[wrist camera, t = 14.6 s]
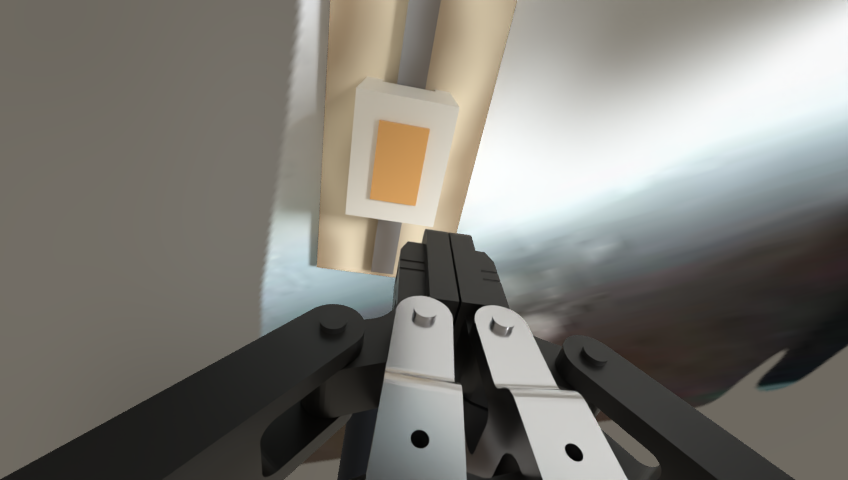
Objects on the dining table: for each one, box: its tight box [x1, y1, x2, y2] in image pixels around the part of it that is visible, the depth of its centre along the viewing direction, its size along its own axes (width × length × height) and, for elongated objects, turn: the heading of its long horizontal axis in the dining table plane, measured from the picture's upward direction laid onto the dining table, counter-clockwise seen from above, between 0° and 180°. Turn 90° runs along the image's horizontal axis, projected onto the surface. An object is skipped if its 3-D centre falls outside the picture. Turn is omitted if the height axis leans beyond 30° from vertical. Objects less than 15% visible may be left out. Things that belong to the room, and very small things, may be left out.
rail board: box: [317, 0, 517, 277], centre depth 28 cm, size 12×26×2 cm, turn 169°
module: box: [345, 76, 460, 227], centre depth 25 cm, size 6×8×6 cm
